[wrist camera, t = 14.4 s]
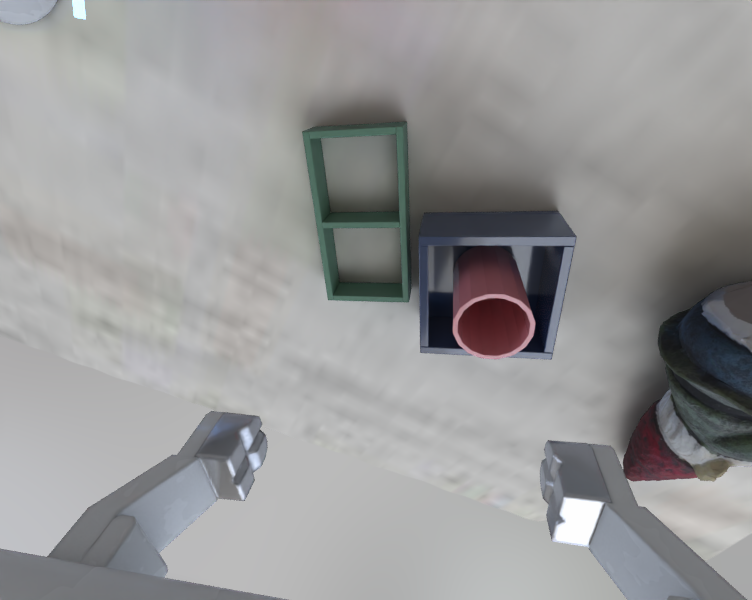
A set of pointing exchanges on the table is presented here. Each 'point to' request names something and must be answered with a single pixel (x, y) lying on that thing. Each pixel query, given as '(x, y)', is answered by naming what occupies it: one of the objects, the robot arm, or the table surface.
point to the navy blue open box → (531, 252)
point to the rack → (359, 213)
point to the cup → (490, 304)
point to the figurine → (700, 394)
